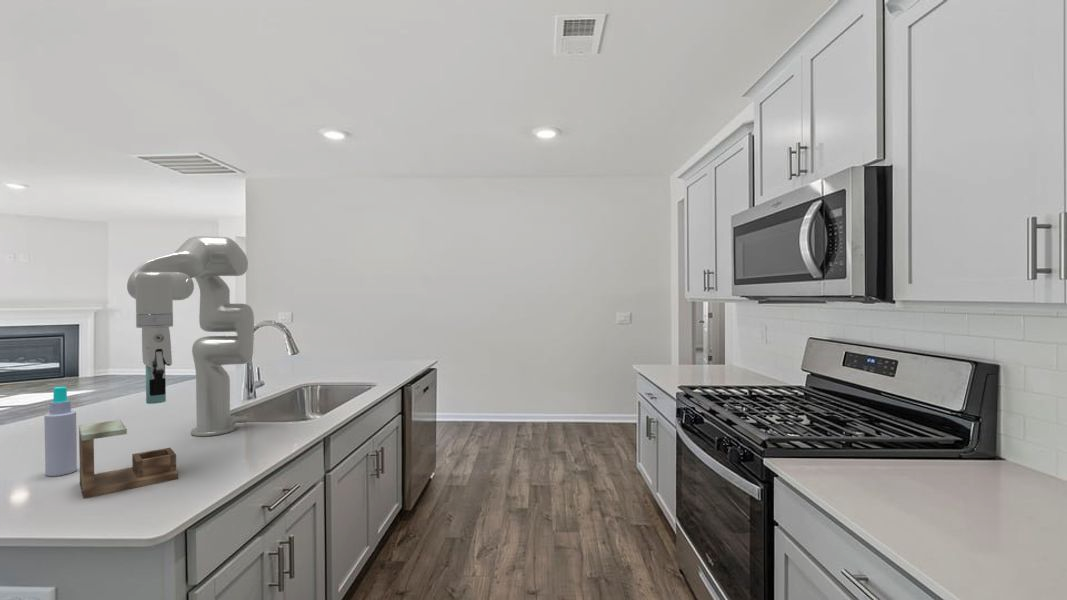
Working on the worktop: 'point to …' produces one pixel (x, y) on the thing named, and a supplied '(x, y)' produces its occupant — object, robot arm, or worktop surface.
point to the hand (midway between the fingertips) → (156, 392)
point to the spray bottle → (60, 436)
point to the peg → (149, 398)
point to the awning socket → (142, 472)
